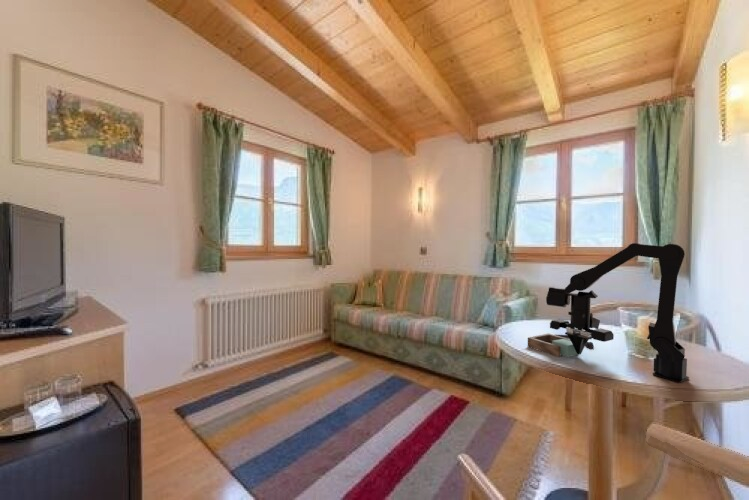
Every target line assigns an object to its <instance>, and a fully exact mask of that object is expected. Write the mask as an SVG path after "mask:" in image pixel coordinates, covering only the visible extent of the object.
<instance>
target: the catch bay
mask: <svg viewBox="0 0 749 500" xmlns="http://www.w3.org/2000/svg"><path fill="white" fill-rule="evenodd" d="M556 335H557V334H551V333H549V332H548V333H543V334H538V335H533V336H530V337H527V347H528V346H529V347H528V348H530V347H532V348H531V349H533V348H535V349H534V350H536V349H538V350H537V351H539V350H540V351H539V352H542V351H543V353H545V352H546V353H545V354H548V353H549V354H548V355H551V354H552V355H551V356H554V355H555V357H557V356H558V357H557V358H560V357H561V355H560V354H561V346H558V345H554V344H552V341H554V340H560V339H565V340H569V341H571V340H570V339H567V338H564V337H560V336H556Z"/></svg>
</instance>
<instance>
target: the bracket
mask: <svg viewBox="0 0 749 500" xmlns="http://www.w3.org/2000/svg"><path fill="white" fill-rule="evenodd" d="M555 335H556V336H560V337H564V338H567V339H569V337H568V335H566V334H555ZM592 339H593V338H590V339H589V340H592ZM585 347H586V348H587V349H590V350H591V349H595V346H594V343H593V341H592V342H591V341H587V343H586V345H585Z"/></svg>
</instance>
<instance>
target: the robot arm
mask: <svg viewBox="0 0 749 500" xmlns="http://www.w3.org/2000/svg"><path fill="white" fill-rule="evenodd" d="M685 251H686V250H685V249H684V248H683V247H682V246H681V245H679V244H676V243H667V244H665V245H663V246H662V245H652V244H643V243H642V244H641V243H639V242H634V243H630V244H628V246H627V247H625V248H624V249H621V250H620V251H619V252H617V253H615V254H614V255H612V256H610V257H608V258H607V259H605V260H603V261H602V262H600V263H598V264H597V265H595V266H593V267H591V268H588V269H586V270H583V271H581V272H578V273H576V274H573V275H572V276H571V277H570V279H569V283H568V285H567V286H565V288H562V287H555V286H549V287H548V291H547V294H546V297H545V298H546V301H545V302H546V305H547V306H552V307H558V308H566V307H567V306H570V310H569V311H568V316H570V321H569V320H565V319H561V318H557V319H553V320H551V321H550V322H549V328H550V329H553V330H557V331H558V330H560V329H561V328H562V329H566V332H564V335H568V337H569V339H570V340H571V342H572V344H573V346H574V348H575V350H576V352H577V354H579V355H582V353H583V350H584V349H585V347H586V346H585V345H586V343H587V342H589V340H591V339H590V338H592V339H593V340H595V341H600V342H603V343H604V342H608V341H612V340H614V333H613V331H612V330H610V329H604V328H600V327H599V326H600V322H601V320H600V319H597V318H596V317H593V316H594V314H593V312H591V299H597V298H598V296H599V295H597V294H596V293H595V292H594V291H593V290H590V291H589V292H587V291H585V290H587V289H590V288H591V287H592V286H593V285H594V284H595V283H596V282H598V281H599V280H600V279H601V278H602V277H603V276H604V275H606V274H608V273H610V272H612V271H613V270H615V269H617V268H618V267H620V266H622V265H624V264H625V263H627V262H628V261H631V260H632V259H634V258H636V257H645V258H651V259H658V263H659V270H660V274H661V275H660V282H659V283H660V284H659V285H660V286H659V296H658V305H657V316H656V321H655V323H653V322H652V321H651V322H649V324H648V327H647V328H648V335H647V337H646V340H649V345H650V346H651V347H652V348H653V350H655V351H657V353H656V354H655V357H654V358H653V372H652V375H653V376H655V377H658V378H663V379H664V380H665V379H666V380H669V381H673V382H676V383H682V382H684V381H687V380H689V379H690V377H689V376H687V371H688V370H687V369H688V368H687V367H688V358H685V357H686V355H685V354H686V353H685V352H686V349H685V347H684V346H682V345H681V344H680V343H679V342H678V341H677V337H676V331H675V324H674V315H675V313H674V312H675V302H676V292H677V283H678V275H679V272H680V269H681V267H682V264H683V261H684V258H685V254H686V253H685ZM575 291H578V292H577V293H574V292H575Z"/></svg>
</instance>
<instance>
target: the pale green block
mask: <svg viewBox="0 0 749 500" xmlns="http://www.w3.org/2000/svg"><path fill="white" fill-rule="evenodd" d="M552 344H554V345H558V346H561V355H560V356H563V357H567V358H569V357H574V356H579V355H580V354H577V352H576V350H575V348H574V346H573V344H572V342H571V341H569V340H565V339H560V340H554V341H552Z"/></svg>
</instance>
